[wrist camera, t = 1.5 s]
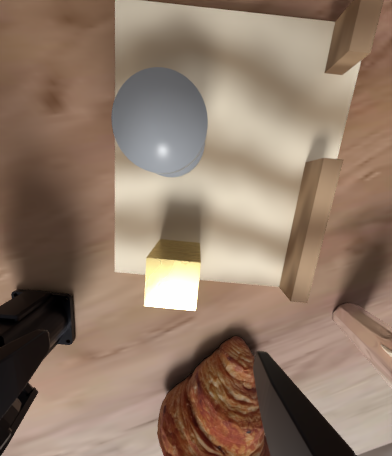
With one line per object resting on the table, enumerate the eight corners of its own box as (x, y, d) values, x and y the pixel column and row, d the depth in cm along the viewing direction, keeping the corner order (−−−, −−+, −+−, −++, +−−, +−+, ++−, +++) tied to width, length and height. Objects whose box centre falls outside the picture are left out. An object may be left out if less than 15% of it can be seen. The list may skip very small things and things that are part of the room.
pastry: (130, 370, 23) (97, 461, 16) (242, 328, 22) (266, 405, 14) (186, 456, 27) (182, 567, 19) (287, 424, 25) (327, 530, 17)
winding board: (298, 283, 20) (320, 304, 17) (119, 267, 20) (102, 284, 17) (356, 37, 16) (405, -8, 12) (121, 12, 15) (97, -43, 12)
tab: (196, 279, 19) (195, 310, 14) (158, 275, 19) (144, 305, 14) (200, 242, 18) (200, 262, 13) (160, 239, 18) (146, 257, 13)
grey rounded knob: (201, 180, 17) (202, 177, 12) (136, 174, 17) (111, 168, 12) (208, 108, 16) (213, 72, 11) (138, 101, 16) (111, 61, 11)
